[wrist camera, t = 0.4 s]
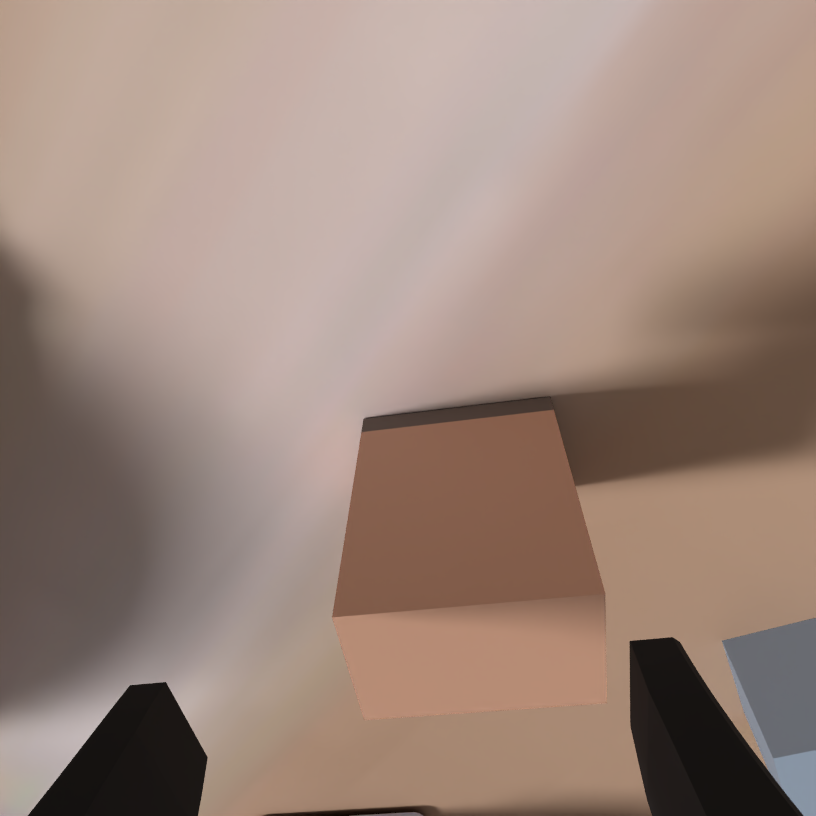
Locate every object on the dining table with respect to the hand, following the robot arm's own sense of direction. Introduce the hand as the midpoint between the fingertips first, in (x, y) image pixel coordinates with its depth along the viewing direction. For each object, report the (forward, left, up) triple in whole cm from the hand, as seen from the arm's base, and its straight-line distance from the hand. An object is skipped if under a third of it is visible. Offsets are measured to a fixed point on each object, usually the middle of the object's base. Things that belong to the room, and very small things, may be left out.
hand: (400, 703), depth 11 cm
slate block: (-14, -12, -10) cm, 21 cm away
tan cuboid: (-3, -1, -10) cm, 11 cm away
